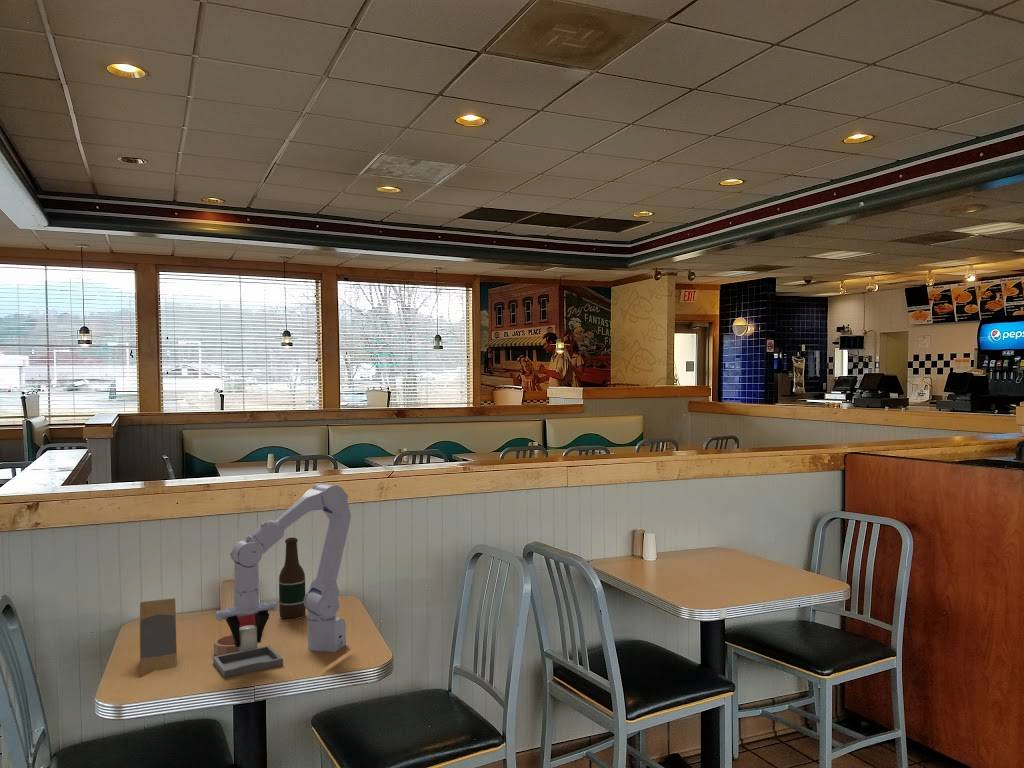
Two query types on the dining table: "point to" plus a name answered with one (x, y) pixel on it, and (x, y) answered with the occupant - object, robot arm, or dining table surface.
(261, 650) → the tray
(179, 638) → the dining table surface
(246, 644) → the white cylinder
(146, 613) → the sandwich container
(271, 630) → the dining table surface
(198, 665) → the dining table surface
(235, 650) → the bowl
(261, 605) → the robot arm
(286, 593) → the beer bottle
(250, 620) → the beer can
